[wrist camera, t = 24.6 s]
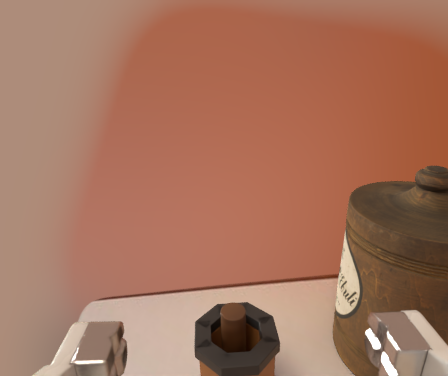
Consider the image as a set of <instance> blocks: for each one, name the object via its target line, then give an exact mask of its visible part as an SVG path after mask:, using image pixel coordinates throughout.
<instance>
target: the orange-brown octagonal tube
mask: <svg viewBox="0 0 448 376" xmlns="http://www.w3.org/2000/svg"><path fill="white" fill-rule="evenodd" d="M238 304H241V305H242V306H243V307H244V308H245V310H246V352H234V353H227V352H225V351H224V350H222V338H221V309H222V307H223V306H224V305H226V304H217V305H216V306H214V307H213V308H212V309H211V310H209V311H208V312H207V313H206V314H204V315H203V316H202V317H201V318H199V319H198V320H197V321H196V322H195V357H196V358H197V359H198V360H200V373H201V376H274V369H275V355H276V354H277V353H278V352H279V351H280V341H279V337H278V333H277V330H276V326H275V323H274V319H273V316H271V315H269V314H267V313H266V312H264V311H262V310H260V309H258V308H257V307H255V306H253V305H251V304H249V303H248V302H244V303H238Z"/></svg>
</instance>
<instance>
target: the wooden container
mask: <svg viewBox="0 0 448 376" xmlns="http://www.w3.org/2000/svg"><path fill="white" fill-rule="evenodd" d="M415 181H416V182H403V181H390V182H377V183H372V184H367V185H364V186H361V187H359V188H357V189H356V190H354V191H353V192H352V194H351V195H350V198H349V204H348V210H347V219H346V230H345V237H344V245H343V251H342V259H341V265H340V272H339V279H338V286H337V296H336V304H335V315H334V325H333V339H334V343H335V346H336V349H337V351H338V353H339V355H340V357H341V358H342V360H343V362H344V363H345V364H346V366H347V367H348V368H349V369H350V370H351V371H352V372H353V373H354V374H355V375H356V376H378V371H379V368H377V367H376V366H375V365H373V364H372V363H371V362H370V360H369V358H368V356H367V353H366V350H365V343H364V338H365V332H366V331H367V330H368V329H369V328H370V326H369V324H368V322H367V320H368V315H369V314H370V313H371V312H387V311H405V310H417V311H419V312H420V313H421V314H422V315H423V316H424V318H425V319H426V320H427V321H428V322H429V324H430V325H431V326H432V327H433V329H434V330H435V331H436V332H437V333H438V335H439V336H440V337H441V338H442V339H443V341H444V342H445V343H446V344H447V345H448V169H447V168H444V167H440V166H427V167H426V168H425V169H422V170H419V171H418V172H417V173H416V177H415Z"/></svg>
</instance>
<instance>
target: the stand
mask: <svg viewBox="0 0 448 376" xmlns="http://www.w3.org/2000/svg"><path fill="white" fill-rule="evenodd" d="M221 338H222V350H224V351H225V352H227V353H234V352H246V310H245V308H244V307H243V306H242V305H241V304H238V303H228V304H226V305H224V306H223V307H222V309H221Z"/></svg>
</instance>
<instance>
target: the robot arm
mask: <svg viewBox="0 0 448 376" xmlns="http://www.w3.org/2000/svg"><path fill="white" fill-rule="evenodd" d="M367 322H368V324H369V326H370V328H369V329H368V330H367V331H366V332H365V338H364V343H365V350H366V353H367V356H368V358H369V360H370V362H371V363H372V364H373V365H375V366H376V367H377V368H379V371H378V376H448V345H447V344H446V343H445V342H444V341H443V339H442V338H441V337H440V336H439V335H438V333H437V332H436V331H435V330H434V329H433V327H432V326H431V325H430V324H429V322H428V321H427V320H426V319H425V318H424V316H423V315H422V314H421V313H420V312H419V311H417V310H405V311H387V312H371V313H370V314H369V315H368V320H367ZM123 334H124V326H123V323H122V322H76V323H74V324H73V325H72V326H71V328H70V329H69V331H68V333H67V335H66V337H65V339H64V341H63V342H62V344H61V346H60V348H59V350H58V352H57V354H56V356H55V357H54V359H53V361H52V363H51V365H46V366H44V367H43V368H42V369H40V370H39V371H38V372H36V373H35V374H34V375H32V376H121V375H122V374H123V373H124V370H125V367H126V361H127V343H126V341H125V340H124V339H123V338H122V337H123Z"/></svg>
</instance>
